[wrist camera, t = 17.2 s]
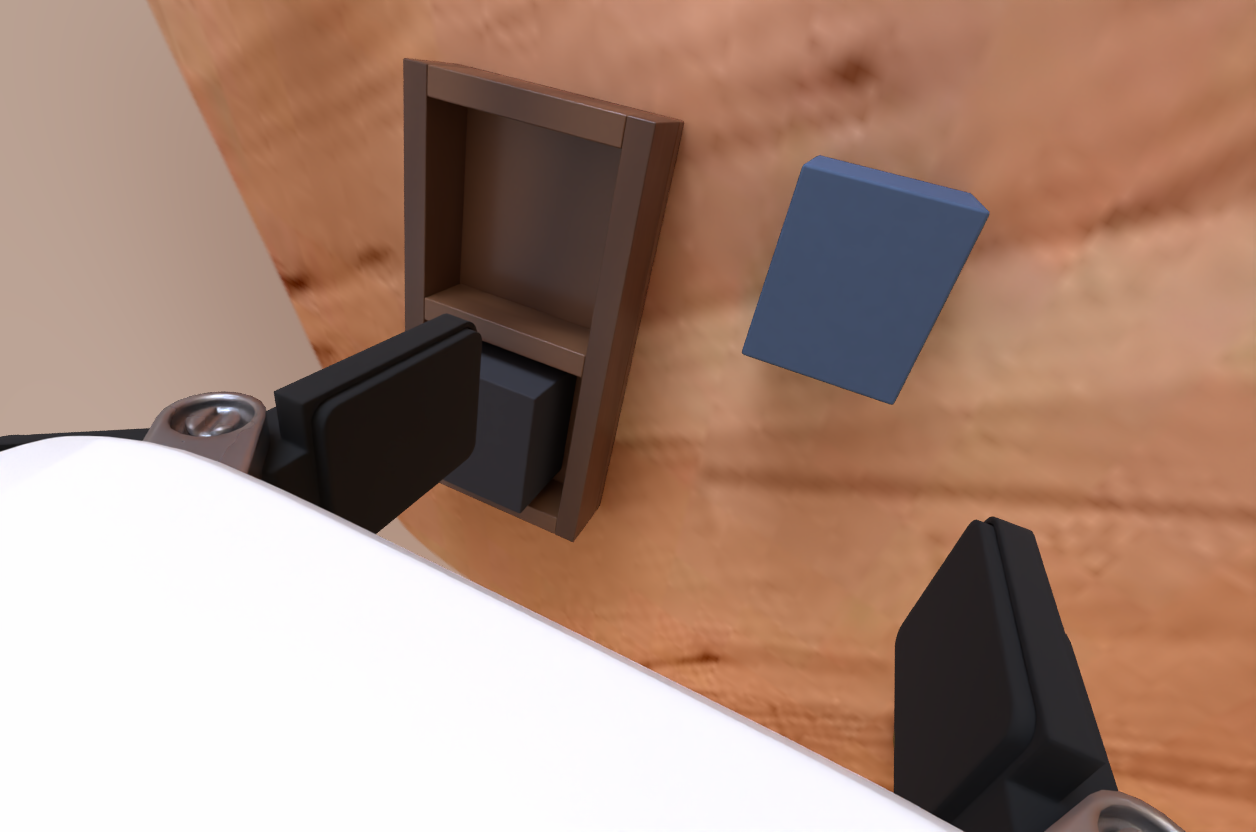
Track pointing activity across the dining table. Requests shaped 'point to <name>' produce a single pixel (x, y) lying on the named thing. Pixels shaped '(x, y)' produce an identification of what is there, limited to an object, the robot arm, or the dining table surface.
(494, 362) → the dark grey rectangular block
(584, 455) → the brown divided wooden tray
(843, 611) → the dining table surface
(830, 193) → the blue rectangular block
